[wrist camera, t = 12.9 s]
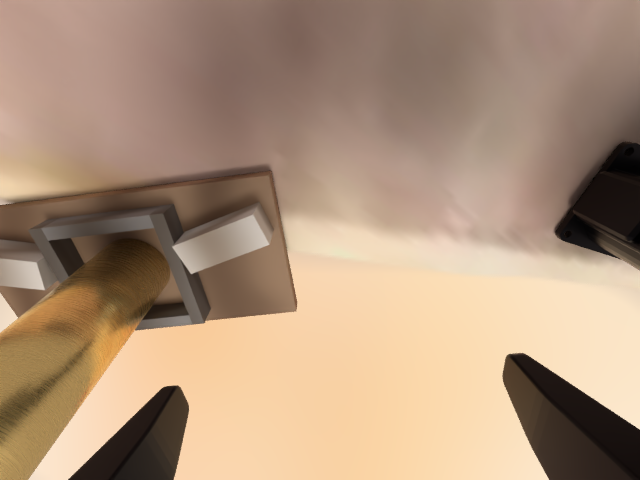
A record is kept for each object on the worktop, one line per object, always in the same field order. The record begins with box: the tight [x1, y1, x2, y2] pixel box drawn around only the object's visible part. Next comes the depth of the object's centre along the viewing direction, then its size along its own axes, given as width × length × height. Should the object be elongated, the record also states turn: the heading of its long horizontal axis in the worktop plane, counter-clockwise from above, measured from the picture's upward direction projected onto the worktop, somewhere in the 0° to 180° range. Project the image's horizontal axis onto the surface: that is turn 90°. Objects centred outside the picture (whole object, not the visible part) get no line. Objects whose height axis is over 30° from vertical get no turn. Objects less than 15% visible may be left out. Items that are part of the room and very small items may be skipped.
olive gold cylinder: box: [0, 239, 170, 480], centre depth 16 cm, size 4×4×12 cm
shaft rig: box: [0, 171, 297, 330], centre depth 21 cm, size 20×10×3 cm, turn 97°
